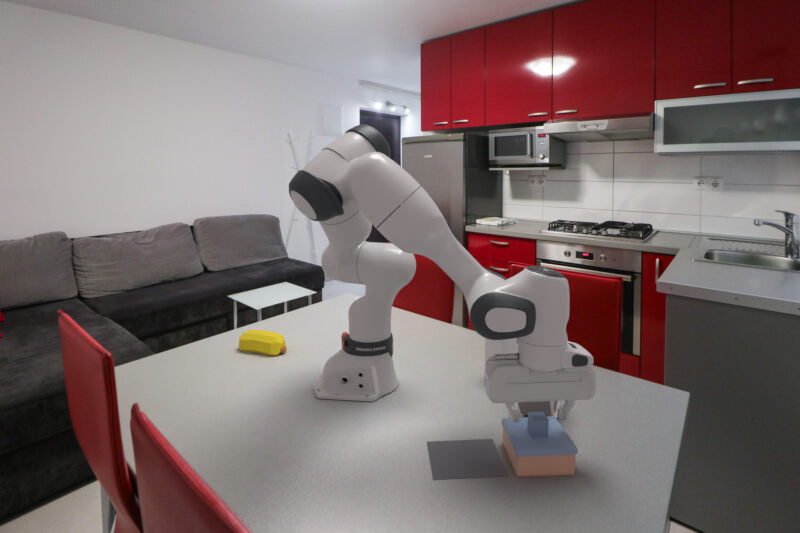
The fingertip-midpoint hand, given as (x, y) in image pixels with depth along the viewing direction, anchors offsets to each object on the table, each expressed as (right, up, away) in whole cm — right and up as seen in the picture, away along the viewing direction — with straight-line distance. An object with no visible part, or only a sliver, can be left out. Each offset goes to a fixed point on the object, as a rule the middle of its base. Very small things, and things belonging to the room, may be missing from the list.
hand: (538, 419), depth 86 cm
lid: (0, -4, +1) cm, 4 cm away
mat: (-14, -9, +2) cm, 17 cm away
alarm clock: (+5, -5, +18) cm, 19 cm away
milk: (+1, -2, +36) cm, 36 cm away
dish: (0, -9, +2) cm, 9 cm away
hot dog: (-72, +2, +60) cm, 93 cm away
